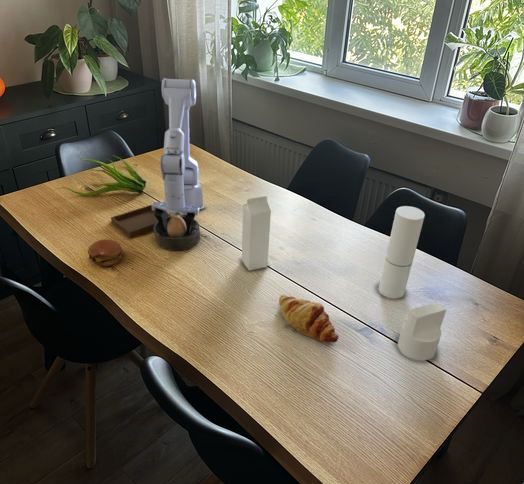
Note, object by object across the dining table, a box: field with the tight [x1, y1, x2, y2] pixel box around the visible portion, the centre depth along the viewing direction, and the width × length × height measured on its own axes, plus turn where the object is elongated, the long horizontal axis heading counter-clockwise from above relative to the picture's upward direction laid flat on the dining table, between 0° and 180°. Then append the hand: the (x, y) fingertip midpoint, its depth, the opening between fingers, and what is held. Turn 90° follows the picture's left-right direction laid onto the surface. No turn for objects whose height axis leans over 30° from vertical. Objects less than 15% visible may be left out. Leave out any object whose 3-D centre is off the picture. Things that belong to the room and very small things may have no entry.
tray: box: [110, 204, 172, 239], centre depth 165 cm, size 16×12×2 cm
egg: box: [167, 214, 186, 238], centre depth 156 cm, size 6×6×8 cm
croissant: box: [278, 294, 339, 343], centre depth 126 cm, size 21×10×8 cm, turn 39°
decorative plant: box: [53, 155, 147, 196], centre depth 177 cm, size 18×30×15 cm, turn 70°
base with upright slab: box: [397, 301, 447, 362], centre depth 119 cm, size 9×9×12 cm
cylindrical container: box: [378, 205, 426, 299], centre depth 133 cm, size 7×7×25 cm
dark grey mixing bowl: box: [152, 215, 201, 251], centre depth 157 cm, size 14×14×4 cm
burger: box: [87, 238, 124, 267], centre depth 146 cm, size 10×9×5 cm
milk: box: [241, 195, 272, 271], centre depth 142 cm, size 6×6×22 cm
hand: (177, 232), depth 157 cm, fingers open, 7 cm apart
